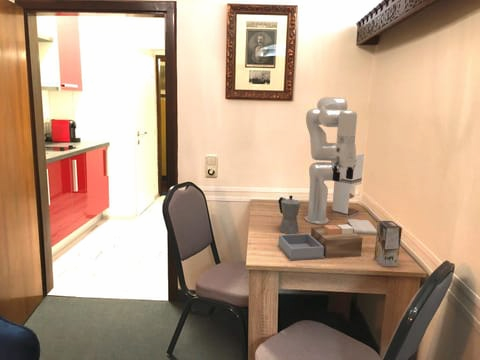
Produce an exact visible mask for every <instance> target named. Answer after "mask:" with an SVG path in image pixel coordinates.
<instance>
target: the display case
mask: <svg viewBox="0 0 480 360" xmlns="http://www.w3.org/2000/svg"><path fill="white" fill-rule="evenodd" d="M356 160H357V161H356V165H355V167H354V170H353V179H346V170H347V168H343V177H342V179H341V180H340V181H339V182H337V181H333V182H334V183H333V192H332V194H333V195H332V196H333V197H332V207H331V214H332V213H333V214H332V215H336V214H337V215H336V216H339V215H341V216H340V217H343V216H344V218H347V217H348V218H349V219H350V218H352V217H354V216H356V215H359V212H360V211H359V210H358V209H355V208H349V207H350V206H349V205H350V199H354V197H355V194H356V186H358V185H361V184H362V181H363V171H364V161H365V153H356ZM348 218H347V219H348Z"/></svg>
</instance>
